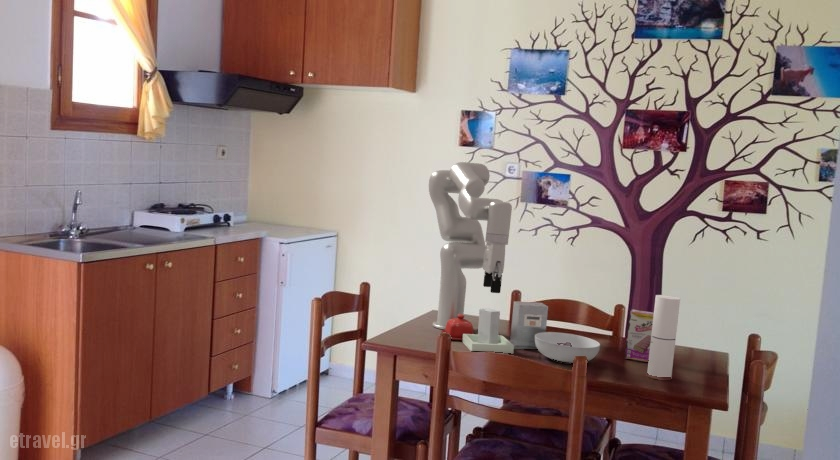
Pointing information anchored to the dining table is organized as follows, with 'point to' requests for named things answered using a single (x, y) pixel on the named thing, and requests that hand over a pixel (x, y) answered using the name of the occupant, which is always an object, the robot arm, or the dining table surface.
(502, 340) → the tray
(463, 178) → the robot arm
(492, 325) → the skincare box
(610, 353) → the dining table surface
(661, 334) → the cylindrical container
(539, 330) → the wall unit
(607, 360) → the dining table surface
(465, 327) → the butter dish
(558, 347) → the serving bowl
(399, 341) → the dining table surface
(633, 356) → the candy bar box
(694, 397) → the dining table surface
